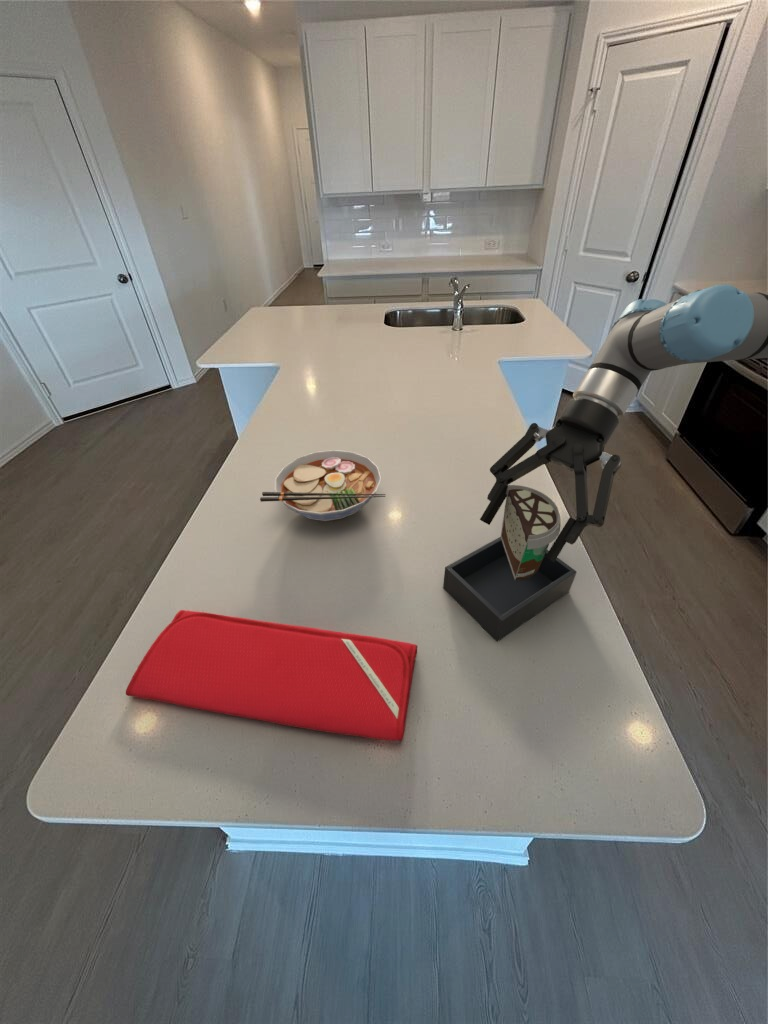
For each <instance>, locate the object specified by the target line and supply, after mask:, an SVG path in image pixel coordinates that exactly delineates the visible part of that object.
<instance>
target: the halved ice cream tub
mask: <svg viewBox="0 0 768 1024" xmlns="http://www.w3.org/2000/svg"><path fill="white" fill-rule="evenodd" d="M506 494H507V497H506V498H505V505H504V512H503V517H502V523H501V532H500V537H501V540H502V543H503V546H504V549H505V552H506V555H507V558H508V561H509V564H510V567H511V570H512V573H513V576H514V579H515V580H523V579H526V578H529V577H531V576H532V575H534V574H535V573H536V572H537V571H538V569H539V567H540V565H541V562H542V560H543V557H544V555H545V553H546V550H548V548H549V545H550V544H551V543H552V542H555V540H556V539H557V537H558V536H559V534H560V532H561V514H560V510H559V508H558V506H557V504H556V502H555V501H553V499H552V498H550V497H549V496H548V495H547V494H545V493H543V492H541V491H540V490H538V489H535V488H532V487H529V486H525V485H518V484H509V485H508V487H507V490H506Z"/></svg>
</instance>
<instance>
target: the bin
mask: <svg viewBox="0 0 768 1024" xmlns="http://www.w3.org/2000/svg"><path fill="white" fill-rule="evenodd" d="M548 552H549V550H548V549H547V550H546V553H545V555H544V557H543V560H542V562H541V565H540V567H539V569H538V571H537V572H536V573H535V574H534V575H532V576H531V577H529V578H526V579H523V580H515V579H514V576H513V573H512V570H511V567H510V564H509V561H508V558H507V555H506V552H505V549H504V546H503V543H502V540H501V536H499V537H497V538H495V539H493V540H491V541H490V542H488V543H486V544H484V545H483V546H481V547H479V548H477V549H475V550H473V551H472V552H470V553H468V554H466V555H465V556H462V557H461V558H459V559H458V560H456V561H453V562H452V563H450V564H448V565H447V566H445V567H444V575H443V576H444V577H443V584H442V585H443V586H442V588H443V590H444V591H446V593H448V594H449V596H451V597H452V598H453V600H454V601H456V603H457V604H458V605H459V606H460V607H461V608H462V609H463V610H464V611H466V613H468V614H469V615H470V617H472V619H473V620H475V622H477V623H478V625H479V626H480V627H481V628H483V629H484V631H485V632H486V633H487V634H488V635H490V636H491V638H492V639H494V641H496V642H499V641H500V640H502V639H503V638H505V637H506V636H508V635H509V634H510V633H512V632H514V631H515V630H516V629H518V628H519V627H521V626H522V625H524V624H525V623H527V622H528V621H530V620H531V619H532V618H534V617H535V616H537V615H538V614H540V613H541V612H543V611H544V610H546V609H547V608H549V607H550V606H552V605H553V604H555V603H556V602H558V601H559V600H561V599H562V598H563V597H565V596H566V595H568V594H569V593H570V590H571V588H572V586H573V582H574V580H575V578H576V575H577V570H575V569H574V568H573V567H572V566H570V565H569V564H567V563H566V562H564V561H563V560H562V559H561V558H559V556H558V557H557V558H556V560H555V561H554V562H553V561H551V560H549V559H547V558H546V555H547V553H548Z"/></svg>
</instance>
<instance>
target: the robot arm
mask: <svg viewBox="0 0 768 1024" xmlns="http://www.w3.org/2000/svg"><path fill="white" fill-rule="evenodd" d="M756 359H768V291H767V292H765V291H764V292H745V291H744V290H741V289H739V288H738V287H736V286H733V284H715V285H712V286H709V287H707V288H704V289H703V288H702V289H697V290H694V291H692V292H689V293H688V294H685V295H683V296H681V297H680V298H679V299H676V300H674V301H672V302H670V303H667V302H665V301H662V300H660V299H657V298H648V299H643V298H639V299H636V300H633V301H632V302H631V303H629V304H628V305H626V307H625V308H624V310H623V311H622V313H621V314H620V316H619V317H618V318H617V319H616V320H615V321H614V322H613V325H612V326H611V329H610V332H609V333H608V335H607V337H606V338H605V339H604V342H603V343H602V345H601V347H600V349H599V350H598V352H597V354H596V356H595V357H594V358H593V360H592V362H591V364H590V366H589V367H588V369H587V370H586V372H585V374H584V375H583V377H582V379H580V382H579V384H578V385H577V387H576V388H575V390H574V391H573V393H572V397H573V398H571V399H569V400H568V402H567V403H566V405H565V406H564V407H563V410H562V411H561V413H560V415H559V417H558V419H557V421H556V423H555V424H554V425H553V426H552V427H551V428H549V429H546V428H543V427H541V426H539V425H538V423H536V422H533V423H531V424H529V427H528V428H527V430H526V432H525V434H524V435H523V436H522V437H521V438H520V439H519V440H518V441H517V442H516V443H515V444H513V446H511V448H510V449H508V450H507V451H506V452H505V453H504V454H503V455H502V456H501V457H500V458H499V459H498V460H497V461H495V463H494V464H493V465H491V466H490V467H489V471H490V473H491V474H492V475H493V476H494V478H495V482H494V484H493V486H492V488H491V490H490V491H489V493H488V495H487V497H486V499H487V500H488V501H489V503H488V505H486V508H485V510H484V512H483V513H482V515H481V517H480V518H479V520H480V521H481V522H483V523H484V524H486V525H488V526H490V525H491V524H492V522H493V520H494V519H495V516H496V515H497V513H498V512H499V510H500V509H501V507H502V505H503V504H504V502H505V501H506V497H507V494H506V490H507V487H508V485H511V484H512V483H513V482H515V481H517V480H519V479H521V478H522V477H524V476H526V475H528V474H530V473H531V472H533V471H534V470H536V469H538V468H540V467H541V466H544V465H547V464H549V463H552V464H554V465H556V466H563V467H564V468H565V469H566V470H568V471H570V472H573V473H574V479H575V480H574V484H575V487H574V488H575V508H576V516H575V518H573V517H571V516H569V518H568V519H567V521H566V522H565V524H564V526H563V527H562V529H561V530H560V532H559V534H558V536H557V537H556V539H555V540H554V541H553V543H552V545H551V547H550V549H549V550H548V551H549V552H548V553H547V555H546V558H547V559H549V560H551V561H553V562H554V561H555V560H556V558H557V557H558V558H559V555H560V554H561V552H562V550H563V549H564V547H565V545H566V543H568V544H570V545H574V544H575V543H576V542H577V541H578V539H579V537H580V536H581V535H582V532H583V531H584V530H585V528H586V527H588V526H593V527H597V528H601V527H603V526H604V524H605V521H606V515H607V510H608V506H609V501H610V498H611V497H610V496H611V492H612V487H613V483H614V478H615V476H616V474H617V472H618V471H619V469H620V468H621V467H622V460H621V456H620V455H618V454H613V455H612V454H610V453H608V452H605V446H606V445H607V443H608V442H609V440H610V439H611V437H612V435H613V434H614V432H615V430H616V429H617V427H618V425H619V423H620V421H619V419H621V418H623V417H624V415H625V414H626V412H627V410H629V407H630V406H631V404H632V402H633V401H634V399H635V397H636V396H637V395H638V393H639V391H640V389H641V387H642V386H643V385H644V383H645V381H646V380H647V379H648V377H649V375H650V374H651V372H653V371H659V370H663V369H668V368H672V367H677V366H682V365H690V364H699V363H700V364H701V363H714V362H725V361H739V360H740V361H741V360H756ZM543 439H545V443H546V445H544V446H543V447H541V448H539V449H537V451H536V452H535V453H533V454H532V455H530V456H528V457H526V458H525V459H523V460H521V461H520V462H519V460H520V459H521V458H523V456H525V454H526V453H528V452H529V451H530V450H531V449H532V448H533V447H534V446H535V445H536V444H537V443H539V442H541V441H542V440H543ZM598 461H601V463H600V466H601V468H602V472H601V477H600V480H599V485H598V489H597V495H596V498H595V504H594V507H593V512H592V514H589V494H588V492H589V491H588V467H587V466H590V465H592V464H594V463H596V462H598ZM517 462H518V463H517Z"/></svg>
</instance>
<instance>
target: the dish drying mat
mask: <svg viewBox="0 0 768 1024" xmlns="http://www.w3.org/2000/svg"><path fill="white" fill-rule="evenodd" d="M417 655H418V645H417V644H414V643H410V642H407V641H399V640H393V639H387V638H381V637H376V636H370V635H363V634H362V635H361V634H355V633H348V632H342V631H333V630H327V629H321V628H315V627H309V626H301V625H292V624H285V623H278V622H272V621H271V622H270V621H264V620H256V619H252V618H245V617H238V616H230V615H224V614H217V613H212V612H211V613H210V612H204V611H203V612H202V611H193V610H184V609H181V610H179V611H178V612H177V613H176V614H175V615H174V618H173V619H172V620H171V622H170V623H169V624H167V626H166V627H165V628H164V629H163V630H162V631H161V632H160V633H159V634H158V636H157V638H156V639H155V640H154V641H153V643H152V644H151V646H150V647H149V649H148V650H147V652H146V653H145V654H144V656H143V658H142V660H141V661H140V663H139V664H138V665H137V668H136V670H135V672H134V674H133V675H132V677H131V679H130V681H129V683H128V685H127V687H126V689H125V696H127V697H134V698H137V699H145V700H150V701H151V700H152V701H158V702H164V703H167V704H172V705H177V706H181V707H185V708H192V709H196V710H201V711H207V712H212V713H217V714H224V715H229V716H235V717H240V718H245V719H251V720H257V721H263V722H269V723H274V724H278V725H282V726H287V727H288V726H289V727H296V728H301V729H306V730H307V729H308V730H313V731H319V732H326V733H333V734H338V735H346V736H355V737H359V738H360V737H361V738H368V739H373V740H383V741H398V742H402V741H403V740H404V735H405V731H406V724H407V723H406V722H407V717H408V710H409V704H410V695H411V688H412V682H413V675H414V669H415V662H416V658H417Z"/></svg>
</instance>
